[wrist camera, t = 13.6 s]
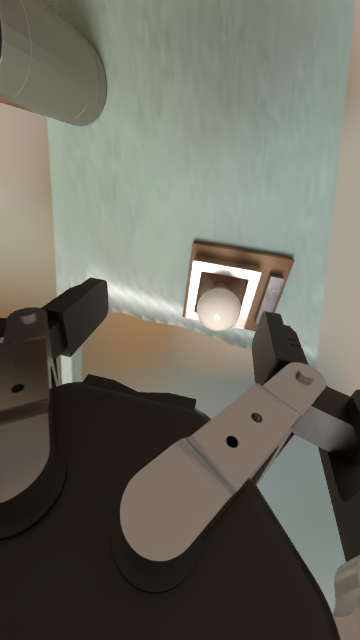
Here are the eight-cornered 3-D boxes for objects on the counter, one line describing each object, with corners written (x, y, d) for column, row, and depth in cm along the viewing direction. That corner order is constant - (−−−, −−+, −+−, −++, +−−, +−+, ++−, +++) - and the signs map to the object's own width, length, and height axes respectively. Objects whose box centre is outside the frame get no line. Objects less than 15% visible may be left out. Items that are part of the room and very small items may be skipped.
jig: (184, 312, 47) (179, 324, 44) (194, 241, 40) (190, 248, 36) (265, 328, 46) (268, 342, 42) (292, 257, 38) (298, 266, 34)
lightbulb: (245, 296, 42) (248, 331, 32) (211, 308, 44) (205, 344, 35) (230, 264, 39) (230, 292, 30) (196, 279, 42) (185, 309, 32)
